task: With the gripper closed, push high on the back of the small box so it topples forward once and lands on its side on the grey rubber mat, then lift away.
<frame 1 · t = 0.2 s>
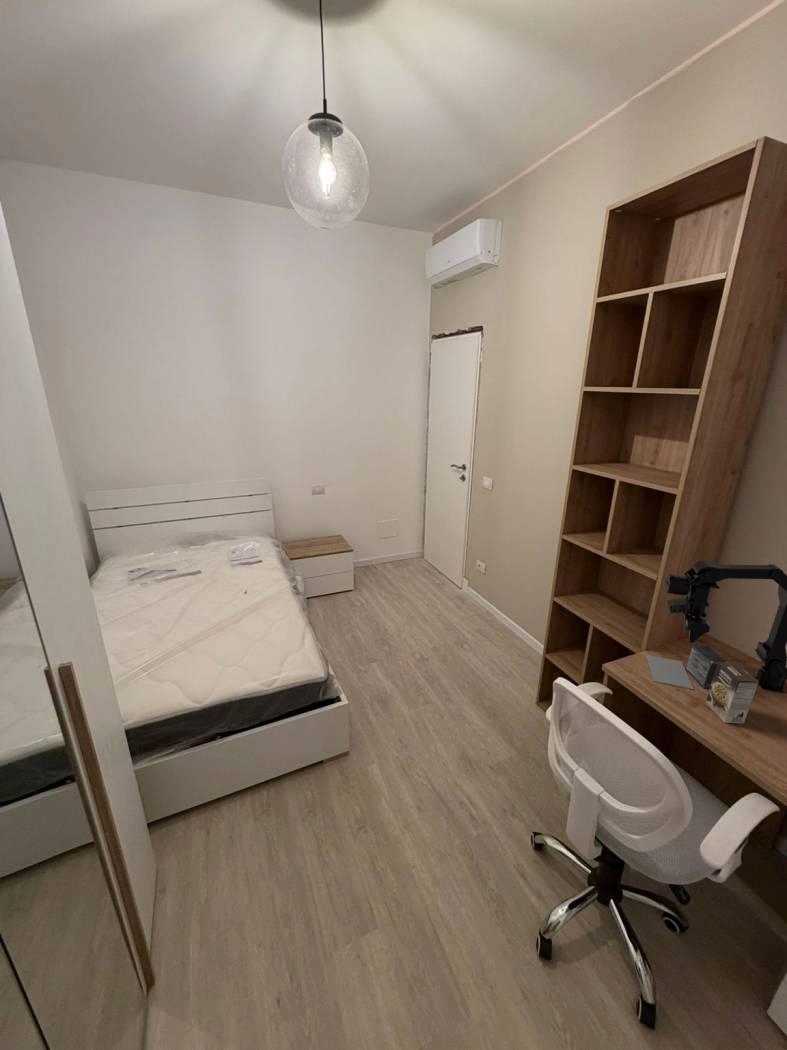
hand: (688, 635, 150), 14 cm above the table, tool pointing down, fingers open, 9 cm apart
small box: (702, 679, 150), on the table
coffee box: (724, 713, 134), on the table
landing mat: (668, 671, 153), on the table
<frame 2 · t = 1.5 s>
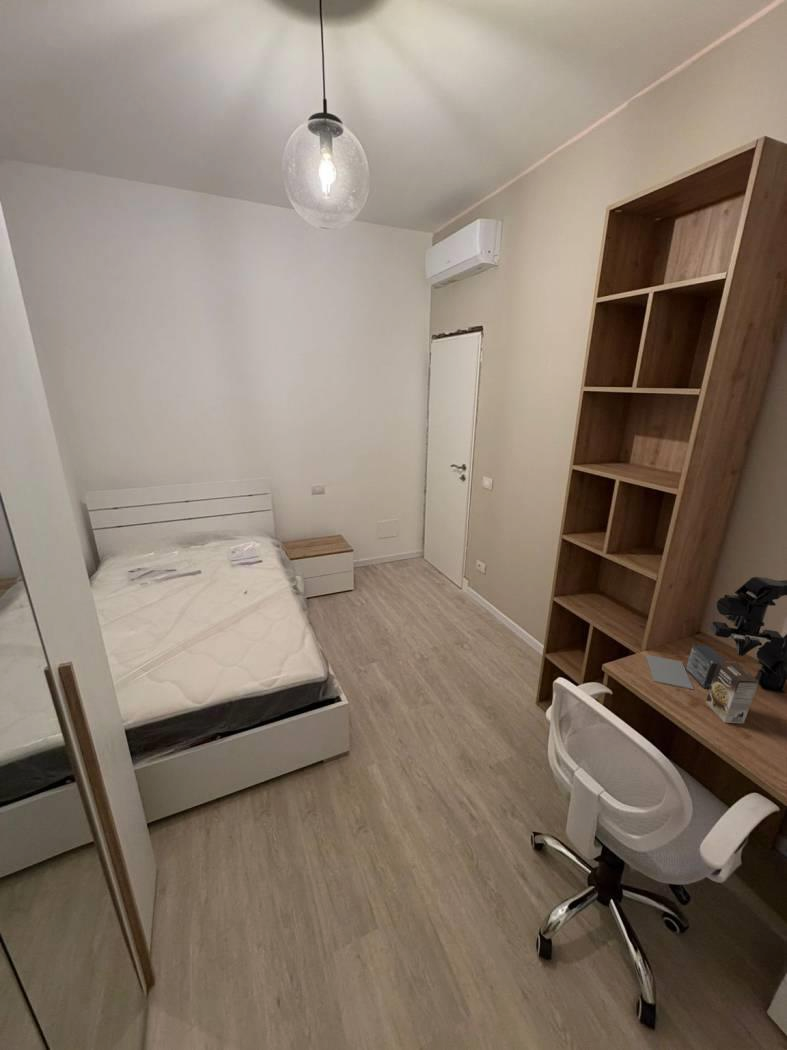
hand: (739, 655, 143), 12 cm above the table, tool pointing down, fingers closed
nothing on the table moved.
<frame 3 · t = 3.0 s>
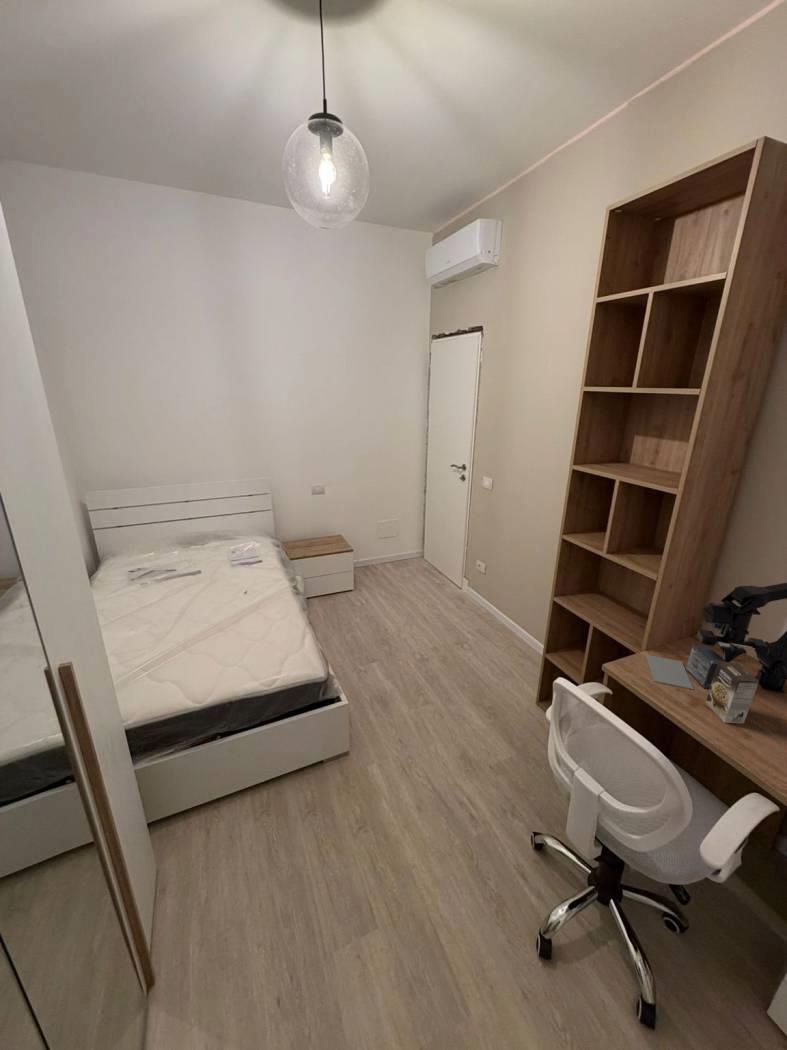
hand: (725, 662, 145), 8 cm above the table, tool pointing down, fingers closed
small box: (702, 679, 150), on the table, touching gripper
everything else where it was.
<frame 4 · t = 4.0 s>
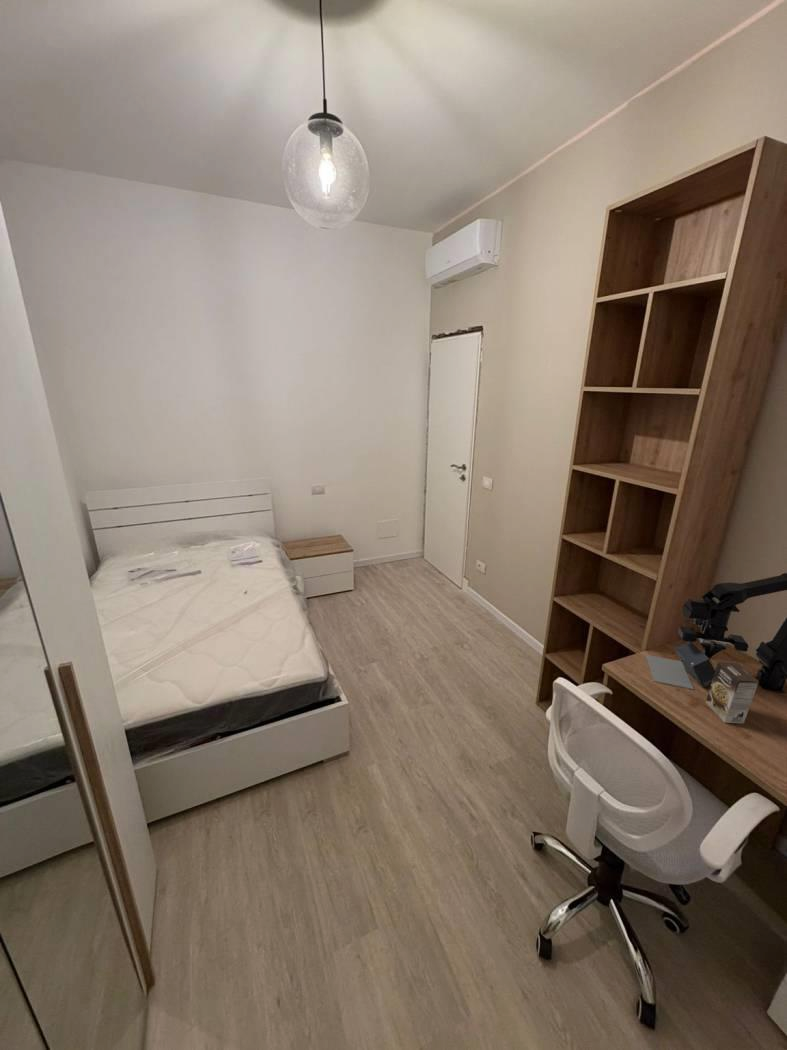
hand: (705, 659, 147), 8 cm above the table, tool pointing down, fingers closed
small box: (702, 674, 149), point 2 cm above the table, touching gripper, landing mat
everything else where it was.
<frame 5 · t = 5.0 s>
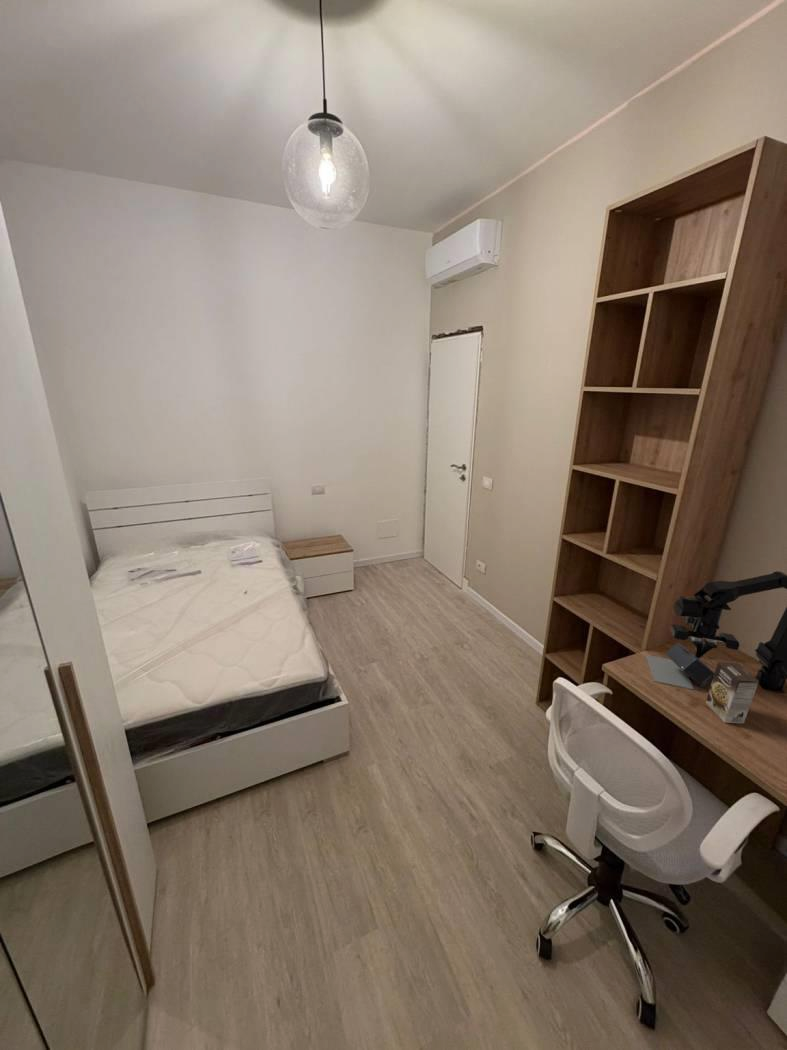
hand: (697, 657, 147), 8 cm above the table, tool pointing down, fingers closed
small box: (701, 672, 149), point 3 cm above the table, touching gripper, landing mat
everything else where it was.
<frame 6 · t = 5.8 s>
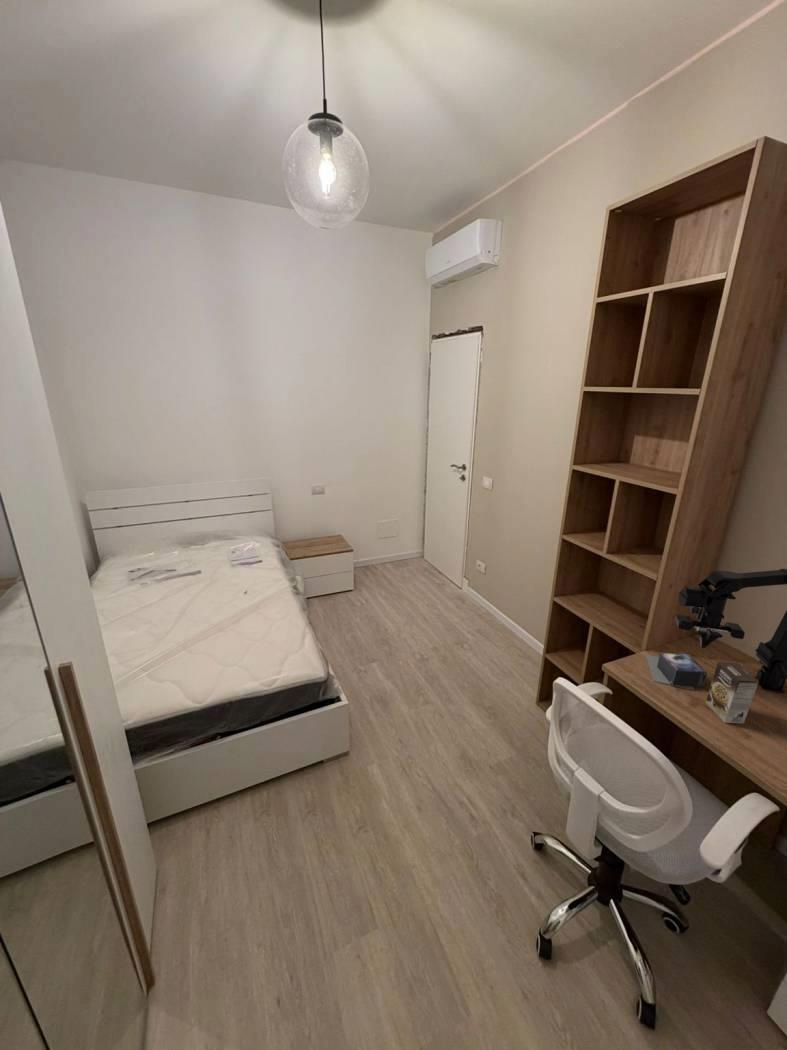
hand: (702, 647, 147), 12 cm above the table, tool pointing down, fingers closed
small box: (697, 669, 149), point 4 cm above the table, touching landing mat
everything else where it was.
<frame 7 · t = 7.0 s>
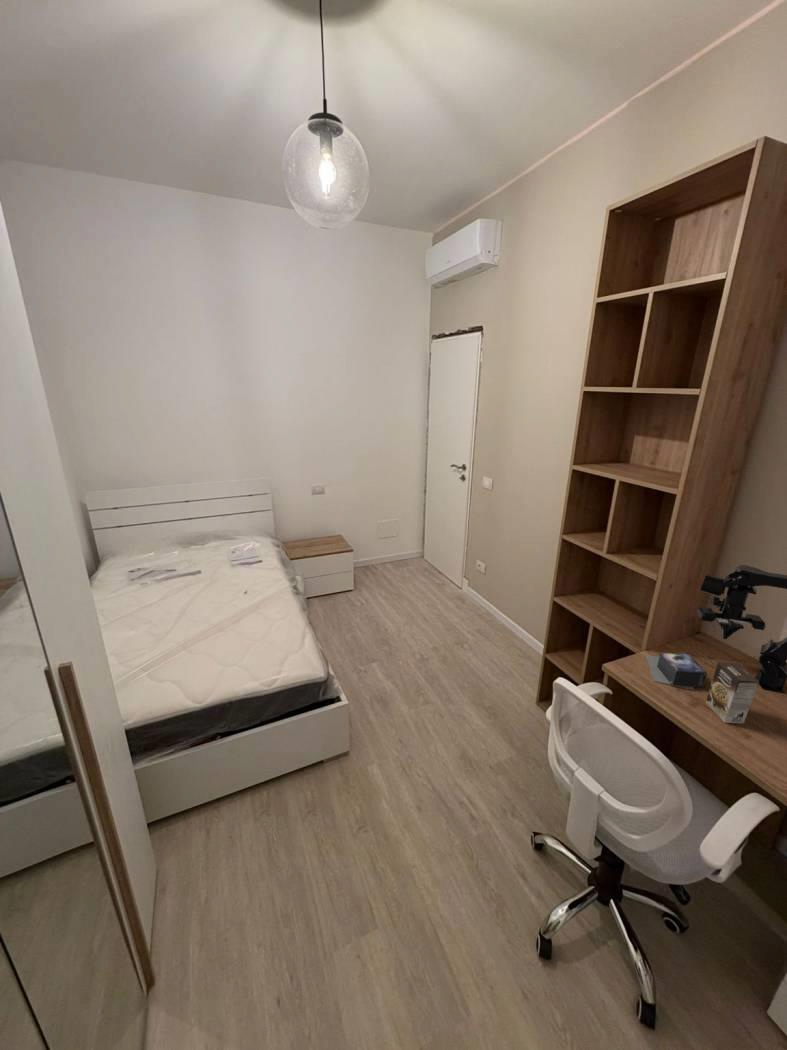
hand: (724, 638, 152), 12 cm above the table, tool pointing down, fingers closed
nothing on the table moved.
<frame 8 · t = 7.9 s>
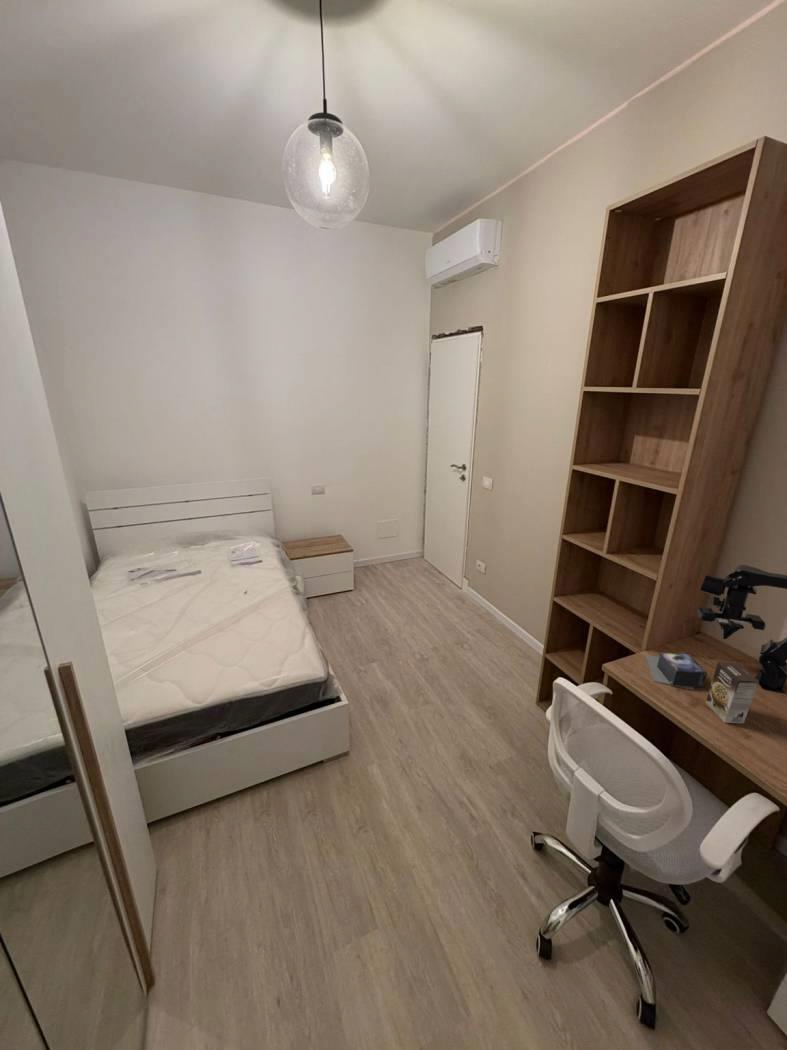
hand: (724, 638, 152), 12 cm above the table, tool pointing down, fingers closed
nothing on the table moved.
at the end: small box tilted 91°; small box touching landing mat; the gripper is holding nothing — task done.
